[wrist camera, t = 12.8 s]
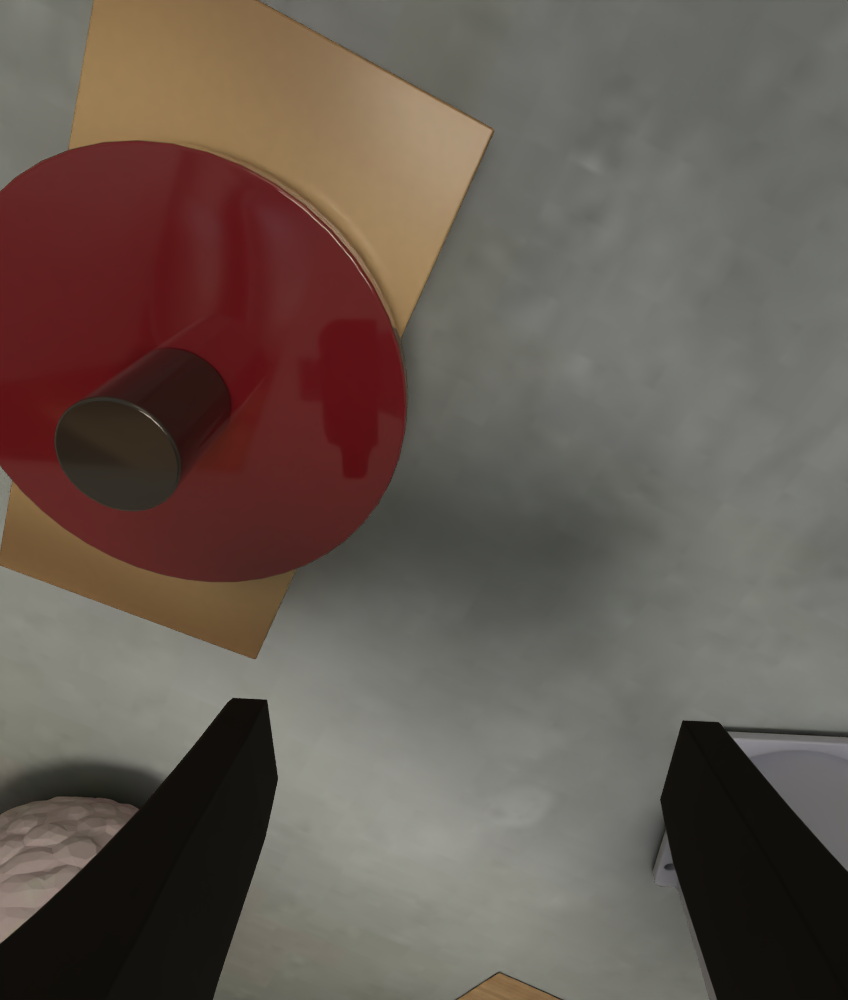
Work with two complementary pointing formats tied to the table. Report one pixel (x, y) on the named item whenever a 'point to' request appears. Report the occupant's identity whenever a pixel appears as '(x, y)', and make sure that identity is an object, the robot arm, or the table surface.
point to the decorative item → (50, 850)
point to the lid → (191, 362)
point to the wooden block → (291, 160)
